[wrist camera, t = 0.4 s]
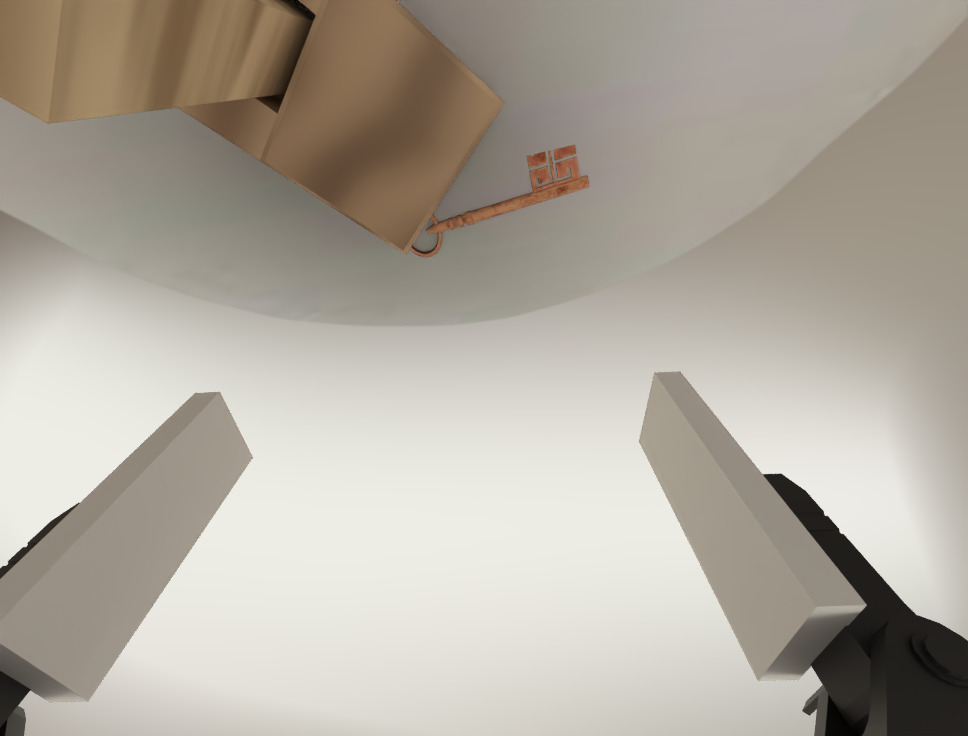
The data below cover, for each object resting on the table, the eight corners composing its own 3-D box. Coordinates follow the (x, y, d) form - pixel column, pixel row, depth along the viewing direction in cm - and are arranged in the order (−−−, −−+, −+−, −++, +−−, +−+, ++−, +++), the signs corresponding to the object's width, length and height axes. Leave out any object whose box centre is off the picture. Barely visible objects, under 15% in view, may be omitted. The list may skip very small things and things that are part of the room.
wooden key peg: (232, 43, 24) (-205, -18, 8) (255, -31, 22) (-251, -305, 6) (298, 92, 25) (48, 124, 9) (324, 27, 24) (70, -68, 8)
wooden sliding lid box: (189, 81, 25) (135, 83, 20) (248, -134, 20) (193, -191, 15) (411, 231, 31) (405, 256, 27) (496, 98, 26) (505, 103, 22)
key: (578, 124, 28) (385, 187, 30) (582, 124, 28) (383, 189, 29) (589, 206, 31) (413, 260, 33) (592, 208, 31) (412, 263, 32)
